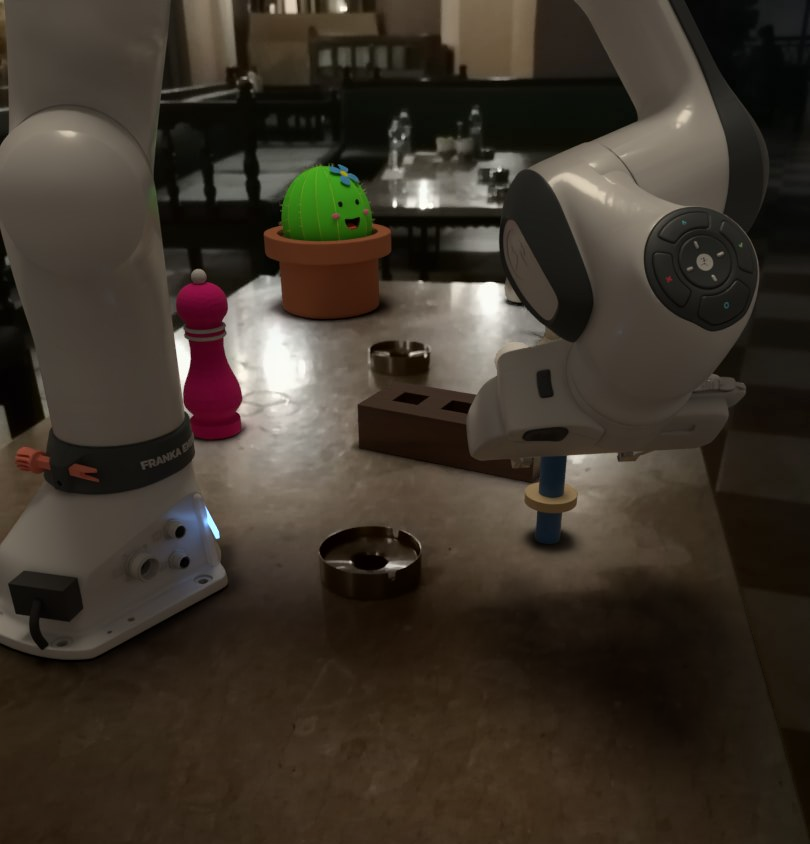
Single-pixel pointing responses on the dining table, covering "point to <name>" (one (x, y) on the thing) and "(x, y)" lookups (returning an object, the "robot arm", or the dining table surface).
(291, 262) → the potted cactus
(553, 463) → the peg
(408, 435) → the stand
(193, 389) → the pepper mill
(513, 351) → the robot arm
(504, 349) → the roll
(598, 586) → the dining table surface
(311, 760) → the dining table surface
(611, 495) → the dining table surface
